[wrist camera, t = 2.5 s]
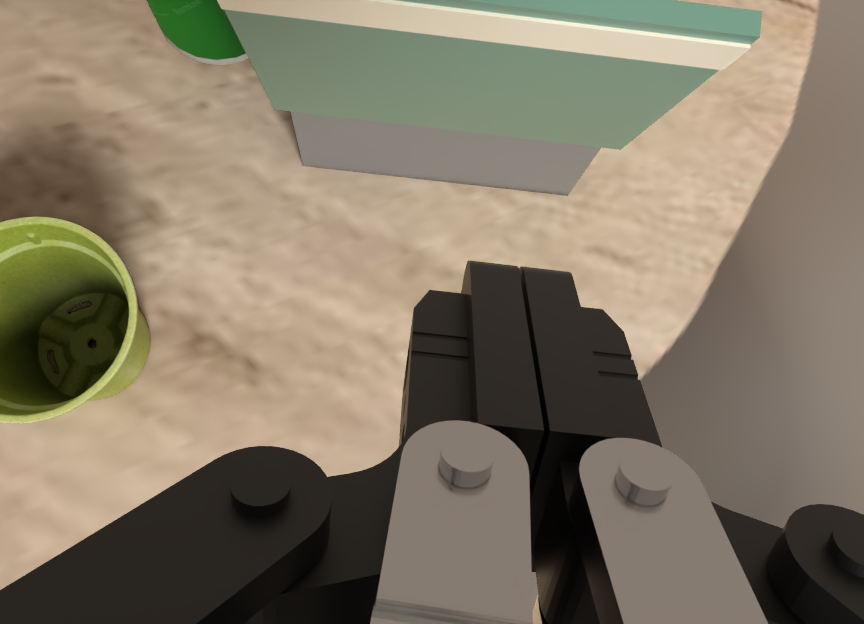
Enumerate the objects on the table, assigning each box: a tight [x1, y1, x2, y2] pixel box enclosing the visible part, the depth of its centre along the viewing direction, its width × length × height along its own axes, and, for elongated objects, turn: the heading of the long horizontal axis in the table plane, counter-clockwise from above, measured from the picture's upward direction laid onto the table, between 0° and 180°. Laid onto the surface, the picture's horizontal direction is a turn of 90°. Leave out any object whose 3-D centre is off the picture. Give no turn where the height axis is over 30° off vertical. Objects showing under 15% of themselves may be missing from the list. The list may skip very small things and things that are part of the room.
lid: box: [217, 0, 762, 150], centre depth 30 cm, size 17×14×1 cm
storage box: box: [290, 111, 601, 196], centre depth 43 cm, size 16×14×9 cm
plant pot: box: [0, 216, 150, 423], centre depth 39 cm, size 9×9×9 cm
